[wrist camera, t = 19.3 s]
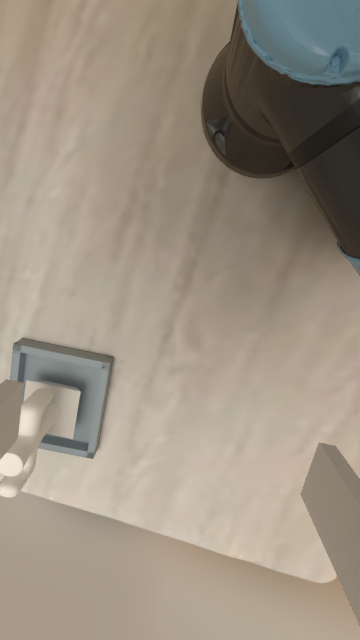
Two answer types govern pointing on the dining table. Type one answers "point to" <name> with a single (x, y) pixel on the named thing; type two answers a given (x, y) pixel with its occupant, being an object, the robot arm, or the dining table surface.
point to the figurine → (38, 429)
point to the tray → (74, 371)
